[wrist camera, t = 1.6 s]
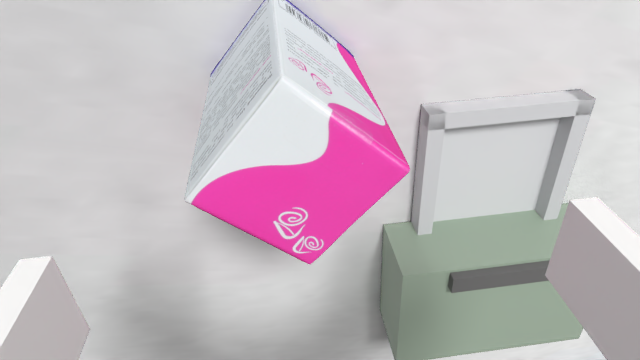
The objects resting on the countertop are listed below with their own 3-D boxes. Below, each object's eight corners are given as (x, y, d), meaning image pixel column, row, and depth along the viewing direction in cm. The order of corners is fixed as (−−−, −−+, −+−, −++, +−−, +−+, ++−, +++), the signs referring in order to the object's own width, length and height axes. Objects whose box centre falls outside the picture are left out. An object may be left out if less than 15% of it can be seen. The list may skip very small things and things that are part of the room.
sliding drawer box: (379, 309, 36) (398, 371, 32) (388, 107, 26) (416, 155, 22) (543, 288, 37) (583, 345, 33) (610, 86, 27) (683, 127, 23)
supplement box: (206, 77, 24) (175, 202, 15) (272, -15, 22) (285, 62, 12) (291, 134, 27) (311, 272, 17) (357, 56, 24) (421, 165, 15)
